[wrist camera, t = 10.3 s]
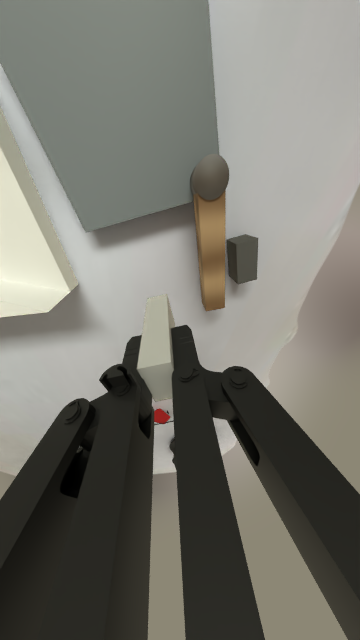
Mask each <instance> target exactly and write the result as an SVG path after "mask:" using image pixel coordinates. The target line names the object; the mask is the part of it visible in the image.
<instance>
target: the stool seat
mask: <svg viewBox="0 0 360 640" xmlns="http://www.w3.org/2000/svg"><path fill="white" fill-rule="evenodd" d="M0 63H1V65H2V67H3V69H4V71H5V73H6V75H7V77H8V79H9V81H10V83H11V85H12V87H13V89H14V91H15V93H16V95H17V97H18V99H19V101H20V103H21V105H22V107H23V109H24V111H25V113H26V115H27V117H28V119H29V121H30V123H31V125H32V127H33V129H34V131H35V133H36V135H37V136H38V138H39V140H40V142H41V144H42V146H43V148H44V150H45V152H46V154H47V156H48V158H49V160H50V162H51V164H52V166H53V168H54V170H55V172H56V174H57V176H58V178H59V180H60V182H61V184H62V186H63V188H64V190H65V192H66V194H67V196H68V198H69V200H70V202H71V204H72V206H73V208H74V210H75V212H76V214H77V216H78V218H79V220H80V222H81V224H82V226H83V228H84V230H85V232H90V231H93V230H97V229H100V228H103V227H107V226H110V225H114V224H117V223H121V222H124V221H128V220H131V219H135V218H138V217H142V216H145V215H148V214H152V213H155V212H159V211H162V210H166V209H169V208H173V207H176V206H180V205H183V204H187V203H190V202H193V201H194V198H193V194H192V192H191V188H190V177H191V174H192V172H193V170H194V168H195V167H196V166H197V165H198V163H199V162H200V161H201V160H202V159H203V158H204V157H205V156H207V155H209V154H217V155H219V145H218V131H217V117H216V103H215V89H214V75H213V61H212V47H211V33H210V19H209V5H208V0H0Z"/></svg>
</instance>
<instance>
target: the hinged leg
mask: <svg viewBox="0 0 360 640" xmlns="http://www.w3.org/2000/svg"><path fill="white" fill-rule="evenodd" d="M228 180H229V169H228V165H227V163H226V161H225V160H224V159H223V158H222V157H221V156H220V155H217V154H209V155H207V156H205V157H204V158H203V159H202V160H201V161H200V162H199V163H198V165H197V166H196V167H195V168H194V170H193V172H192V174H191V177H190V188H191V192H192V194H193V198H194V210H195V222H196V234H197V246H198V258H199V271H200V283H201V295H202V303H203V305H204V308H205V310H206V311H210V310H215V309H221V308H225V189H226V187H227V184H228Z"/></svg>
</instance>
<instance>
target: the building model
mask: <svg viewBox="0 0 360 640" xmlns="http://www.w3.org/2000/svg"><path fill="white" fill-rule="evenodd" d="M77 285H78V282H77V279H76V277H75V275H74V273H73V270H72V268H71V266H70V264H69V261H68V259H67V257H66V254H65V252H64V250H63V248H62V245H61V243H60V241H59V239H58V236H57V234H56V232H55V229H54V227H53V225H52V223H51V220H50V218H49V216H48V214H47V211H46V209H45V207H44V204H43V202H42V200H41V198H40V195H39V193H38V191H37V189H36V186H35V184H34V182H33V180H32V177H31V175H30V173H29V170H28V168H27V166H26V164H25V161H24V159H23V157H22V155H21V152H20V150H19V148H18V145H17V143H16V141H15V139H14V136H13V134H12V132H11V130H10V127H9V125H8V123H7V120H6V118H5V116H4V114H3V111H2V109H1V107H0V317H9V316H18V315H27V314H36V313H45V312H49V311H50V310H51V309H52V308H53V307H54V306H55V305H56V304H58V303H59V302H60V301H61V300H62V299H63V298H64V297H65V296H66V295H67V294H69V293H70V292H71V291H72V290H73V289H74V288H75V287H76V286H77Z"/></svg>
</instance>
